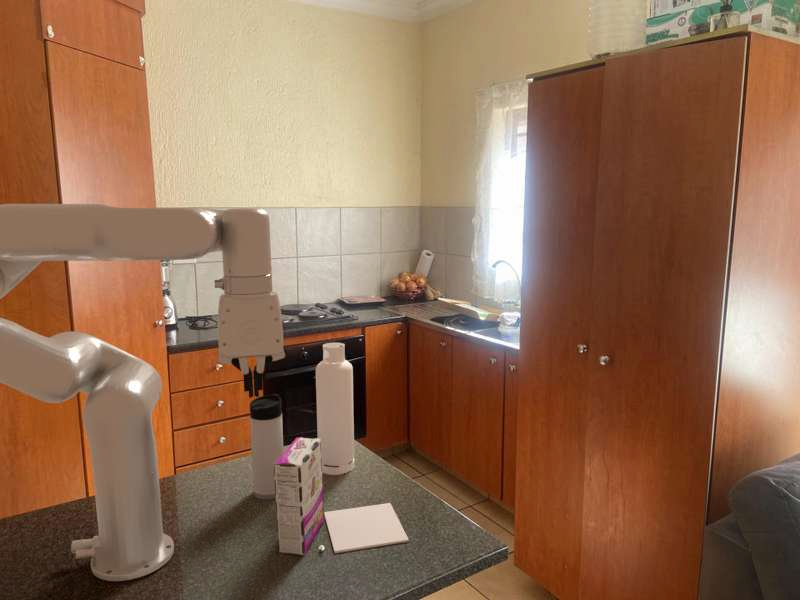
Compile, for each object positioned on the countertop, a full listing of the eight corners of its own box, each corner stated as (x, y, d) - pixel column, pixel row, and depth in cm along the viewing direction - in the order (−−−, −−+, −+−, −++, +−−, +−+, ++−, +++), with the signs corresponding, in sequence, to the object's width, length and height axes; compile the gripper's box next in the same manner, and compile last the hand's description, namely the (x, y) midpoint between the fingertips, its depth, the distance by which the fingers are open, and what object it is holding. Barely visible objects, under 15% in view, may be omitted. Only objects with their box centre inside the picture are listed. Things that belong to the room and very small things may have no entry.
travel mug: (292, 489, 120) (289, 396, 117) (269, 503, 115) (265, 406, 111) (270, 481, 123) (266, 391, 120) (247, 494, 118) (242, 400, 115)
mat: (334, 553, 98) (334, 551, 98) (324, 514, 111) (324, 512, 110) (408, 541, 101) (408, 539, 101) (390, 504, 114) (390, 502, 114)
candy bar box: (299, 519, 109) (296, 436, 106) (324, 521, 108) (322, 437, 105) (276, 554, 98) (272, 462, 95) (304, 557, 97) (301, 465, 94)
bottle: (361, 469, 129) (359, 346, 125) (327, 478, 125) (324, 351, 120) (344, 455, 136) (342, 339, 131) (312, 464, 132) (308, 343, 127)
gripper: (197, 291, 88) (205, 406, 91) (297, 286, 92) (301, 397, 95) (201, 284, 95) (207, 391, 98) (293, 280, 99) (297, 384, 102)
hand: (253, 394), depth 97 cm, fingers closed
